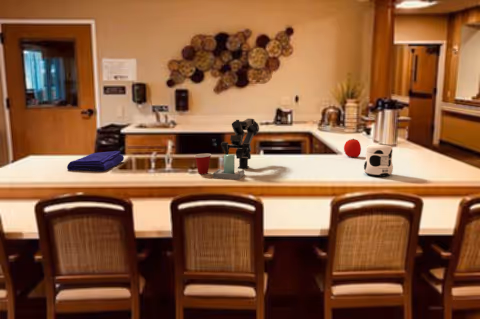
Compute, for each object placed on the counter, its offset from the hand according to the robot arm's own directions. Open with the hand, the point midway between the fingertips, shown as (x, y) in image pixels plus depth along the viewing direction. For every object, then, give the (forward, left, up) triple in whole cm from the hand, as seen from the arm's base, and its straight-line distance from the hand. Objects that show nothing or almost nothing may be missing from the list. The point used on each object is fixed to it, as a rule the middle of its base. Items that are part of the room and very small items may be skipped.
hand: (233, 157), depth 298 cm
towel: (-3, -94, -11) cm, 95 cm away
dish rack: (+7, -1, -10) cm, 12 cm away
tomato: (-81, +73, -10) cm, 110 cm away
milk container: (-19, +88, -10) cm, 91 cm away
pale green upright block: (+7, -1, -9) cm, 12 cm away
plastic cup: (+3, -19, -10) cm, 22 cm away
